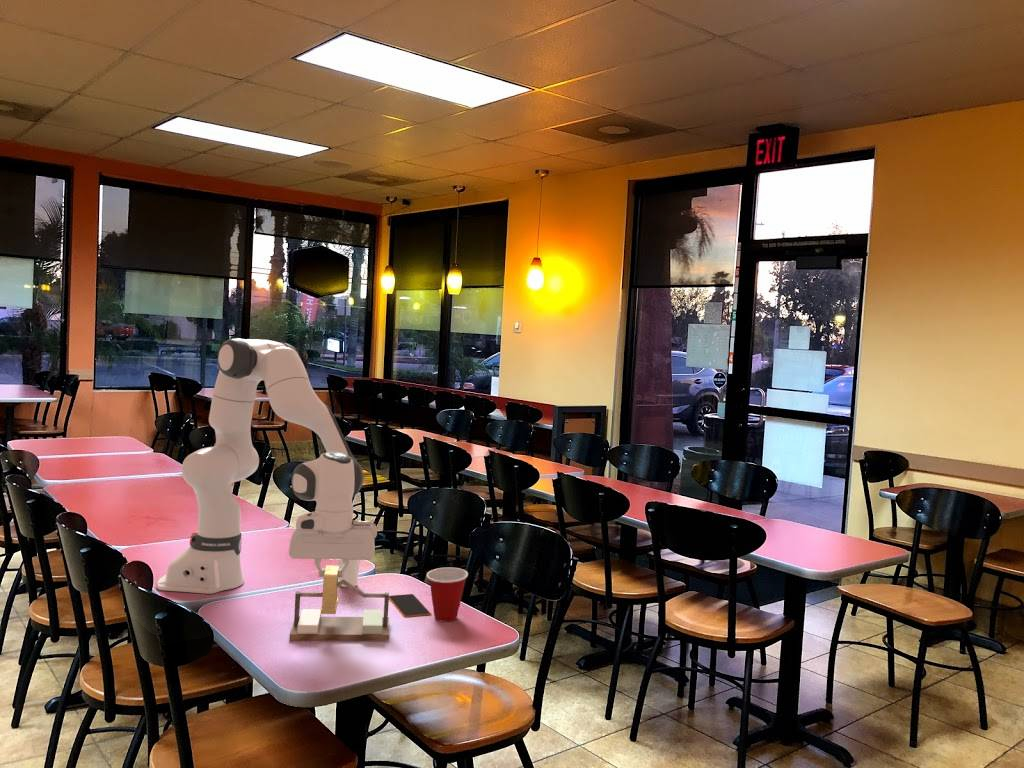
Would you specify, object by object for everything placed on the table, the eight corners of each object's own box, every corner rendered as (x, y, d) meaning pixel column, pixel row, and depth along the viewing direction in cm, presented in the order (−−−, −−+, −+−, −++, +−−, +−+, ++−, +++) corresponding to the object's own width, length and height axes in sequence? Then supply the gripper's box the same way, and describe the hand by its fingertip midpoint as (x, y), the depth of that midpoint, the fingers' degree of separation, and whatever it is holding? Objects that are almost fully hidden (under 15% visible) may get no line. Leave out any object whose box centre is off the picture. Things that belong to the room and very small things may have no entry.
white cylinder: (333, 582, 235) (335, 531, 234) (356, 580, 238) (359, 530, 237) (338, 589, 229) (341, 537, 228) (362, 588, 232) (365, 536, 231)
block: (297, 633, 191) (297, 625, 191) (302, 617, 202) (302, 609, 202) (317, 633, 192) (317, 625, 192) (321, 617, 203) (321, 609, 203)
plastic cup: (416, 614, 213) (418, 569, 212) (451, 608, 220) (453, 564, 219) (437, 628, 204) (440, 581, 204) (473, 621, 211) (476, 575, 210)
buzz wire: (289, 640, 190) (291, 586, 190) (295, 622, 202) (297, 570, 202) (388, 640, 194) (391, 587, 193) (388, 622, 206) (391, 572, 205)
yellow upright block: (320, 613, 193) (322, 576, 192) (323, 601, 201) (325, 565, 201) (335, 614, 193) (337, 576, 193) (337, 601, 202) (339, 565, 201)
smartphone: (404, 619, 210) (404, 616, 210) (387, 598, 226) (387, 595, 226) (432, 616, 214) (432, 613, 213) (413, 596, 229) (413, 593, 229)
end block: (362, 633, 193) (362, 625, 193) (363, 617, 204) (363, 609, 204) (381, 633, 194) (382, 625, 194) (382, 617, 205) (382, 609, 205)
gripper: (377, 518, 201) (374, 573, 202) (292, 515, 198) (289, 571, 198) (377, 524, 194) (374, 581, 195) (289, 522, 191) (286, 579, 192)
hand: (331, 576), depth 197 cm, fingers closed on yellow upright block, 3 cm apart
